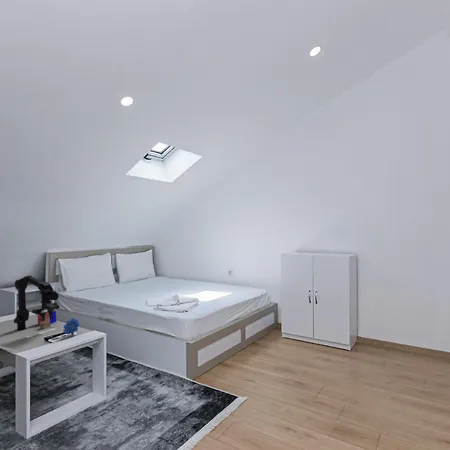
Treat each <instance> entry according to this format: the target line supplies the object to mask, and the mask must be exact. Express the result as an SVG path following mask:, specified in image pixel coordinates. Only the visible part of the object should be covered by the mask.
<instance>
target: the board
mask: <svg viewBox="0 0 450 450" xmlns="http://www.w3.org/2000/svg"><path fill="white" fill-rule="evenodd" d="M55 330H56V327H53V328H49V329H47V330H44V331H39V332H37V333H34V334H30V335H27V336H26V338H32V337H35V336H39V335H43V334H46V333H48V332H50V331H55Z"/></svg>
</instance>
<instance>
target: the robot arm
mask: <svg viewBox="0 0 450 450" xmlns="http://www.w3.org/2000/svg"><path fill="white" fill-rule="evenodd" d="M28 284H31V285H33V286H35V287H36V288H37V289H38V290H39V295H40V296H41V300H40V303H41V306H40V308H33V309H32V310H31V314H33V315H34V314H35V315H37V314H39V315H40V316H41V318H42V320H43V321H45V317H44V314H45V312H44V311H45V310H47V312H49V317H50V318H51V315H52V312H53V311H54V310H57V309H58V310H59V309H60V304H58V303H57V302H53V303H52V301H57V300H58V299H59V297H60V296H59V293H58V292H57V291H56V290H54V288H53V286H52V285H51V283H50V282H49V281H42V280H39V279H38V278H35V277H34V276H33V275H26V276H24V277H21V278H19V279H17V280H15V281H14V286H15V289H16V290H17V295H18V296H17V299H18V310H17V312H16V316H15V318H14V319H13V323H14V324H16V328H15V331H19V332H20V331H21V332H22V331H25V330H27V329H28V327H27V325H26V322H27V321H29V318H30V310H28V309H27V301H26V289H27V288H28Z"/></svg>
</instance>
